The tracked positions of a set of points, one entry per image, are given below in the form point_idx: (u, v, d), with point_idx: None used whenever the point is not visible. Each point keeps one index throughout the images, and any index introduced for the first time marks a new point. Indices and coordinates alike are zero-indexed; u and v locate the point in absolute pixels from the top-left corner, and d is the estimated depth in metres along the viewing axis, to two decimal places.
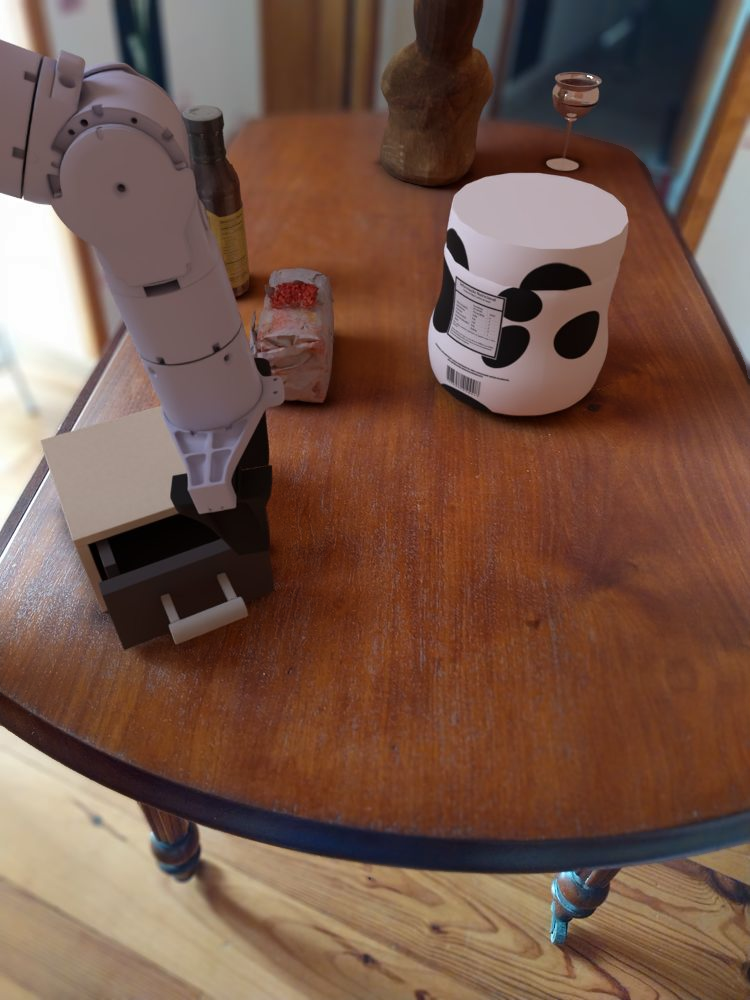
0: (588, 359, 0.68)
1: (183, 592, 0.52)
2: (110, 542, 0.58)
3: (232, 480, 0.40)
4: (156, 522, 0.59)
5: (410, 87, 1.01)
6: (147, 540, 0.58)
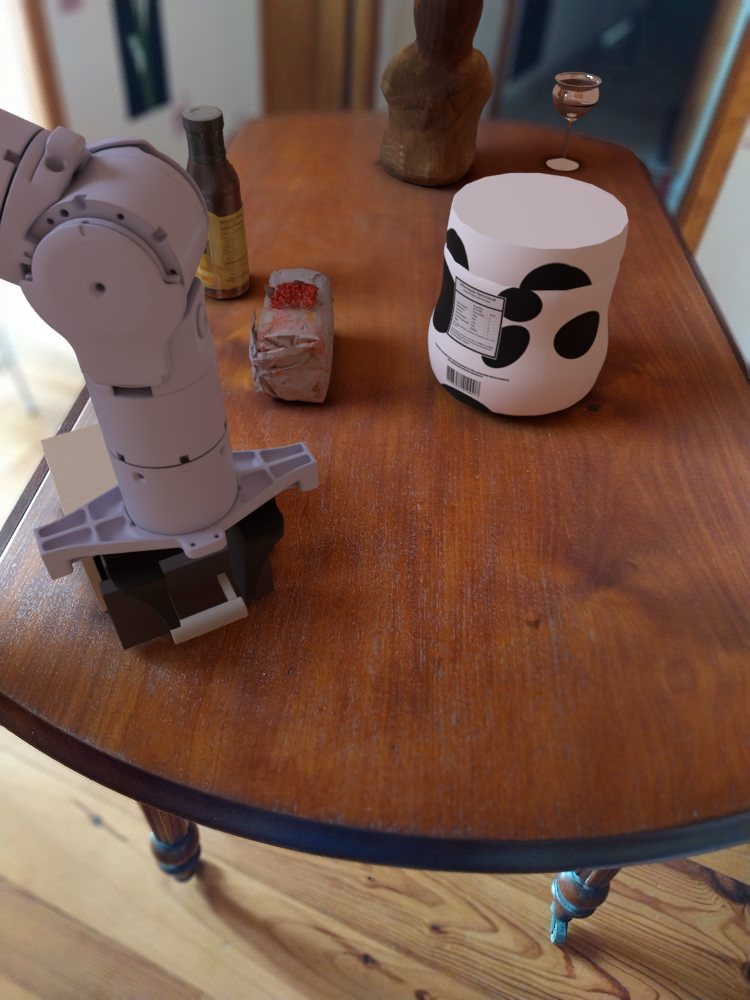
0: (588, 359, 0.68)
1: (183, 592, 0.52)
2: None
3: None
4: None
5: (410, 87, 1.01)
6: None
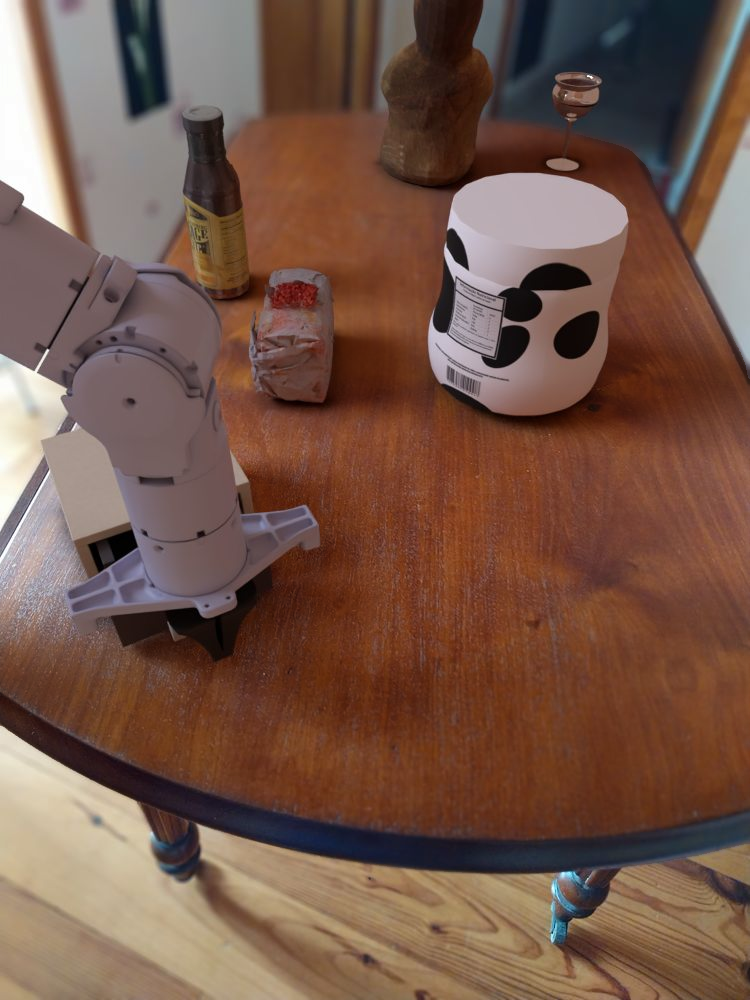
0: (588, 359, 0.68)
1: None
2: (109, 540, 0.58)
3: None
4: None
5: (410, 87, 1.01)
6: None
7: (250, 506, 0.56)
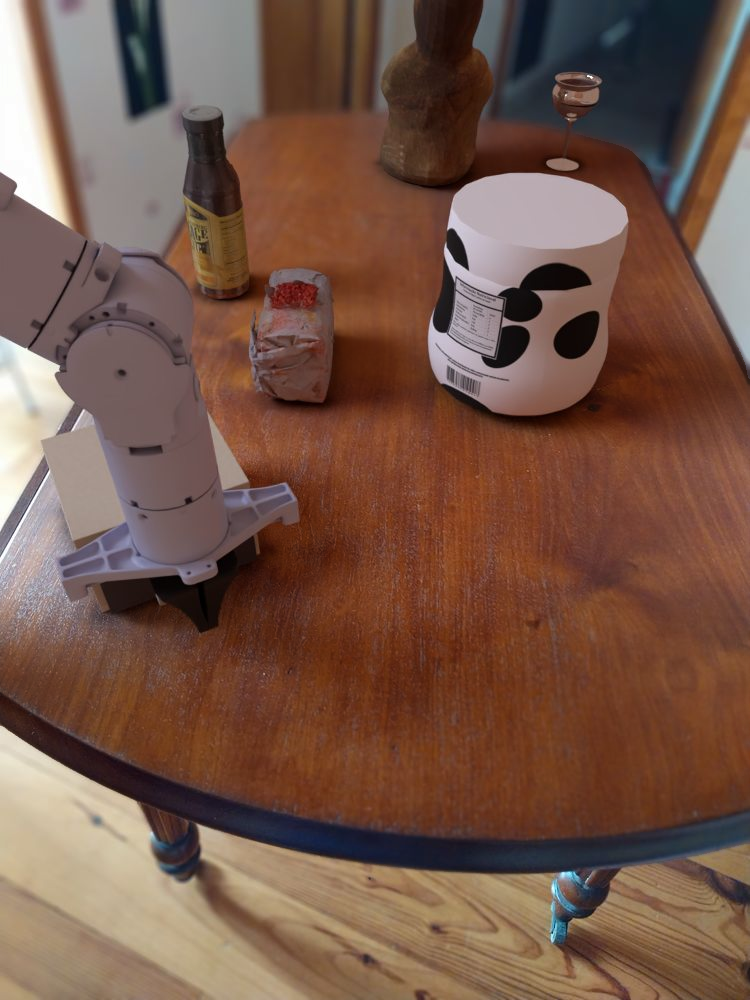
0: (588, 359, 0.68)
1: None
2: None
3: None
4: None
5: (410, 87, 1.01)
6: None
7: None
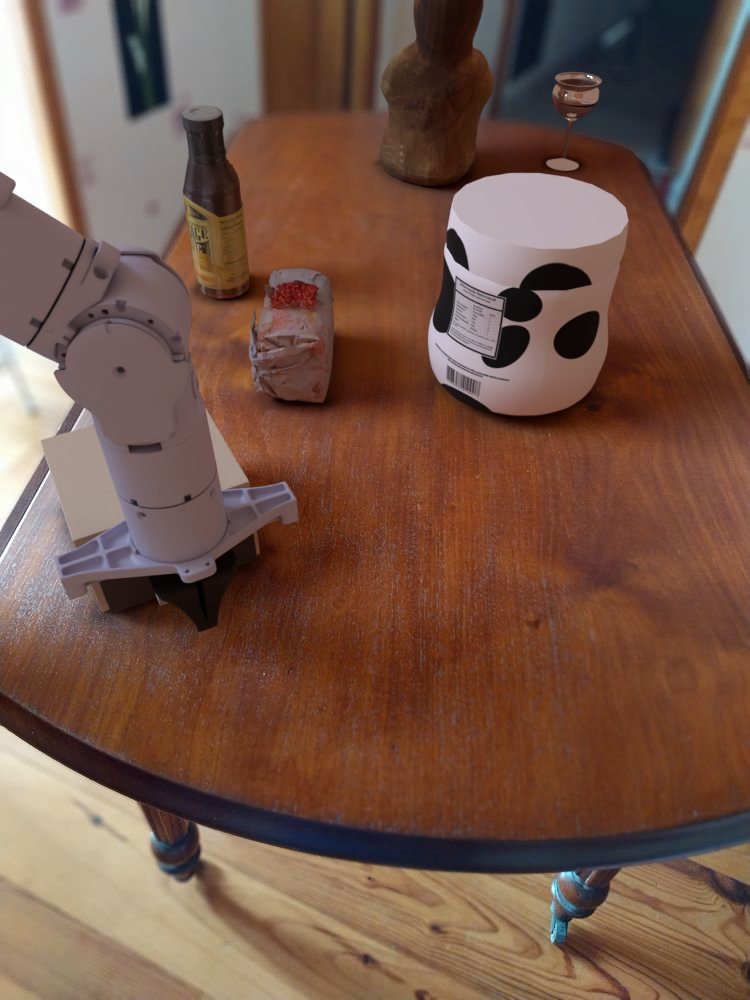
0: (588, 359, 0.68)
1: None
2: None
3: None
4: None
5: (410, 87, 1.01)
6: None
7: None
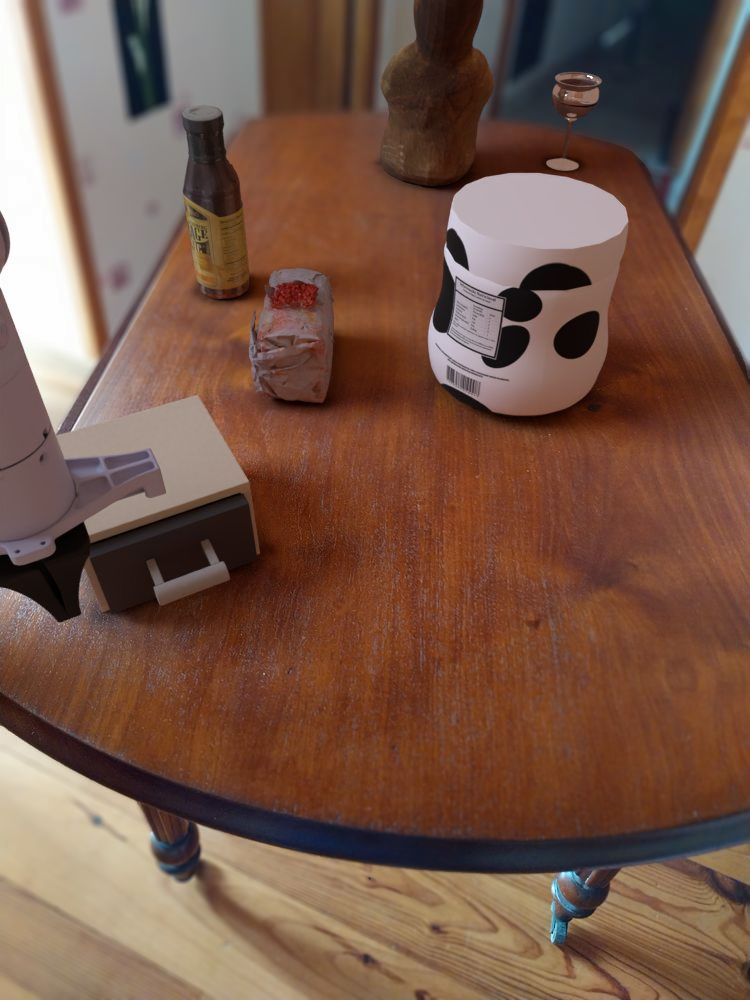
0: (588, 359, 0.68)
1: (168, 557, 0.54)
2: None
3: None
4: None
5: (410, 87, 1.01)
6: None
7: (250, 506, 0.56)
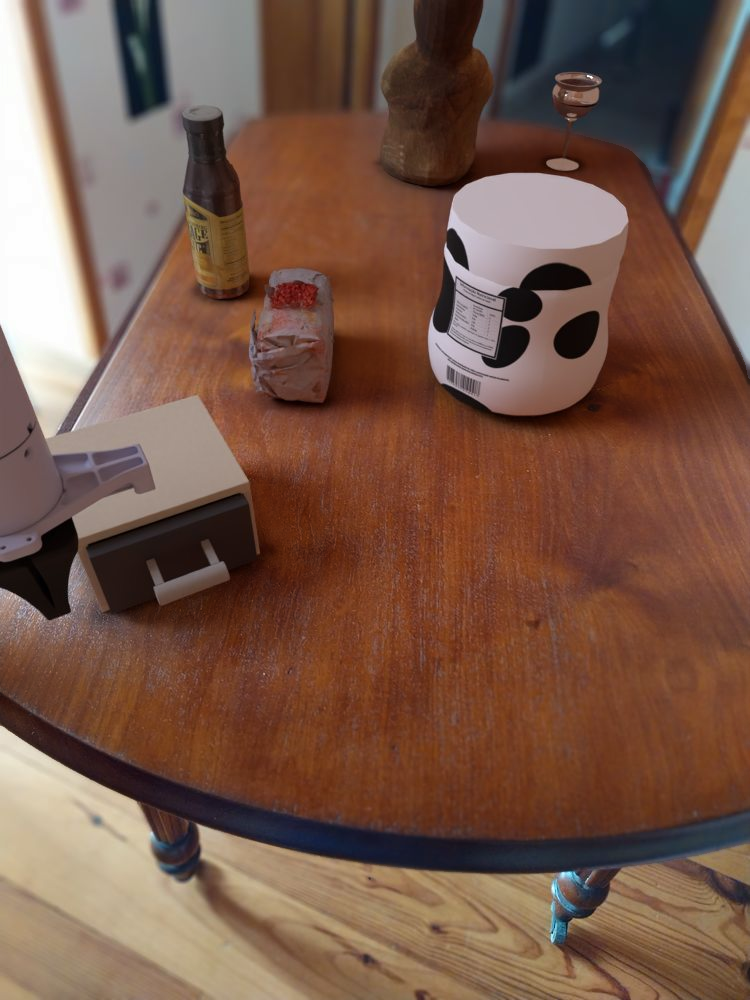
0: (588, 359, 0.68)
1: (168, 557, 0.54)
2: None
3: None
4: None
5: (410, 87, 1.01)
6: None
7: (250, 506, 0.56)
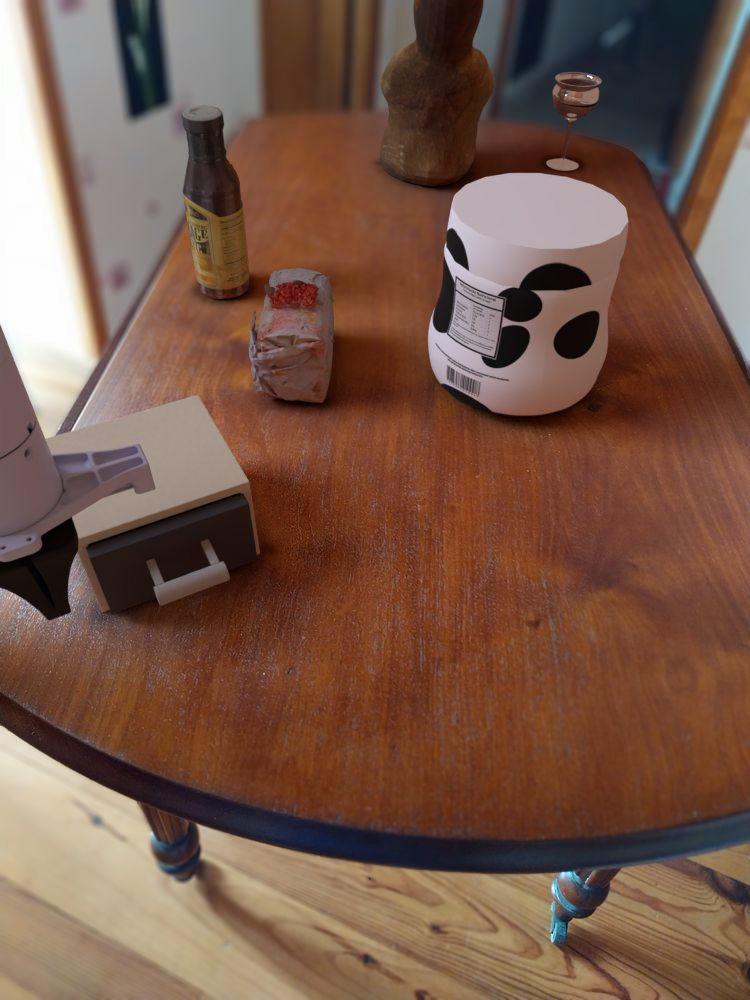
0: (588, 359, 0.68)
1: (168, 557, 0.54)
2: None
3: None
4: None
5: (410, 87, 1.01)
6: None
7: (250, 506, 0.56)
